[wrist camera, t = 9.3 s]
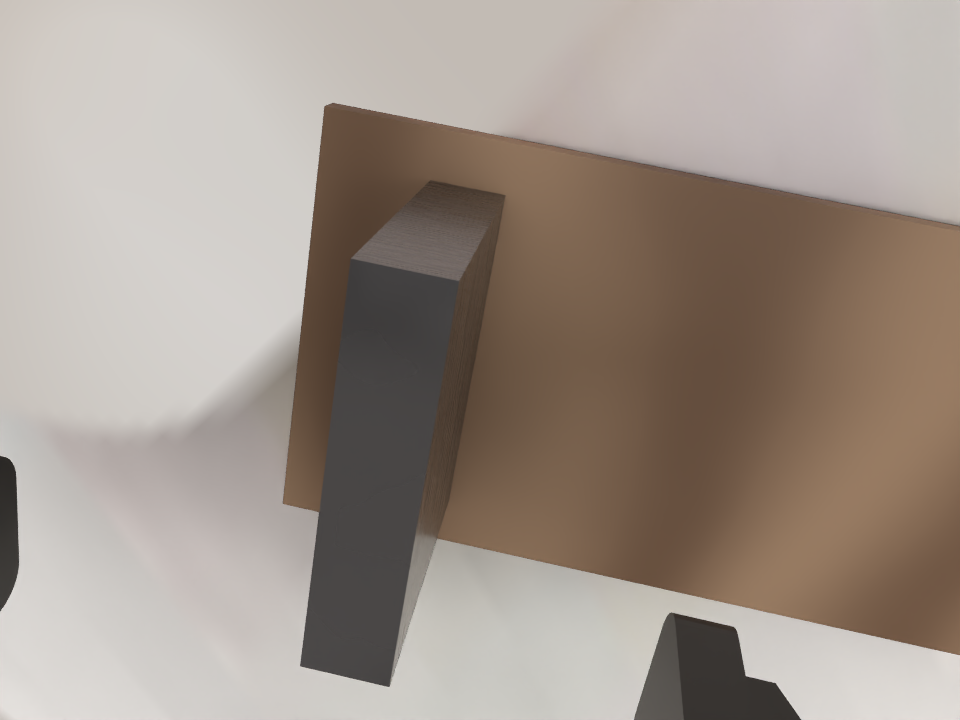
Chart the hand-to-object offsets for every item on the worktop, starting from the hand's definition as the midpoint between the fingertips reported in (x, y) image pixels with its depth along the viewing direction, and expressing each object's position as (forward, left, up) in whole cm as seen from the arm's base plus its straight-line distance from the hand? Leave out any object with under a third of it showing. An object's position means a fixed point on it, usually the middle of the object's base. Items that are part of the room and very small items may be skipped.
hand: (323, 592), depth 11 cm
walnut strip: (0, +12, -10) cm, 15 cm away
